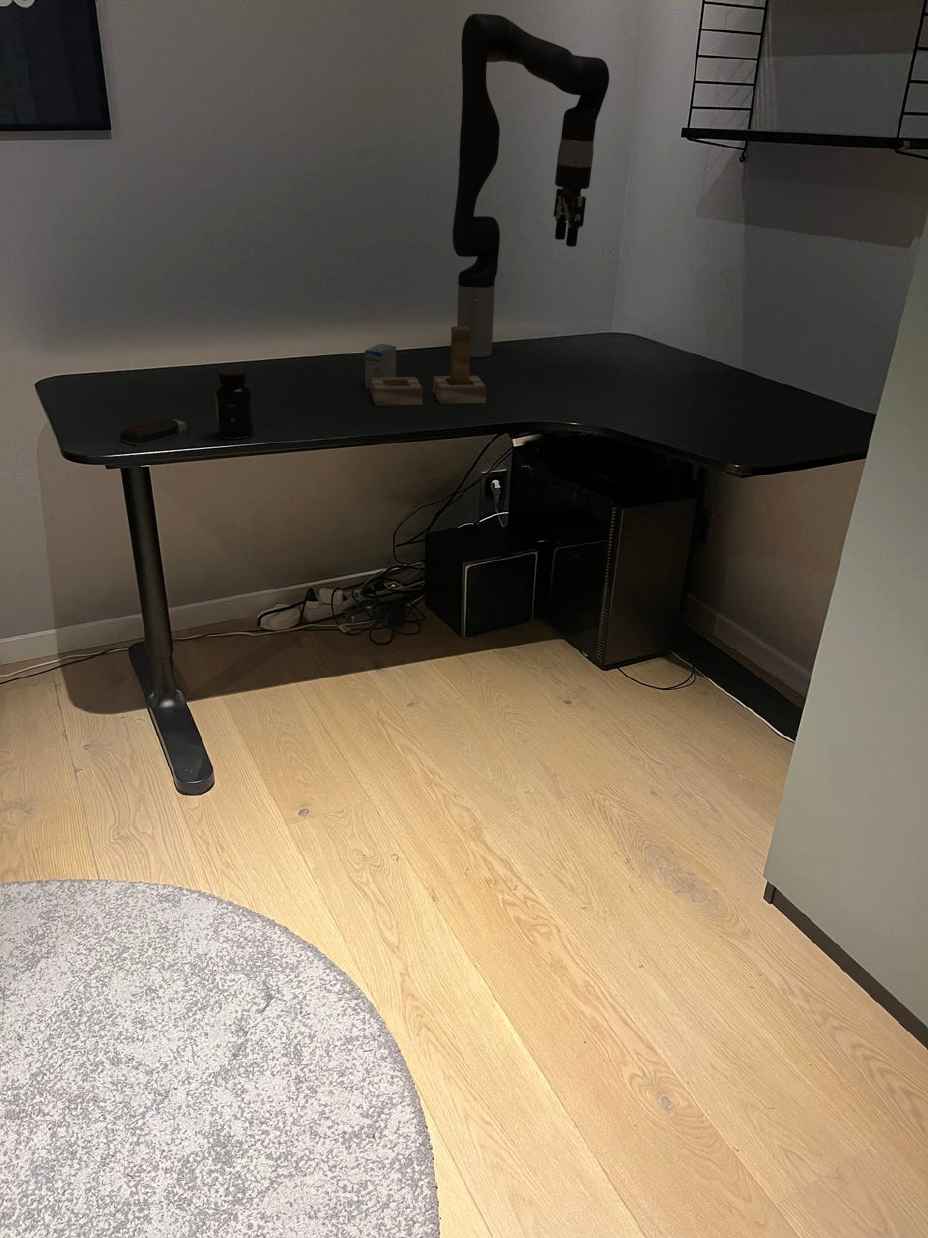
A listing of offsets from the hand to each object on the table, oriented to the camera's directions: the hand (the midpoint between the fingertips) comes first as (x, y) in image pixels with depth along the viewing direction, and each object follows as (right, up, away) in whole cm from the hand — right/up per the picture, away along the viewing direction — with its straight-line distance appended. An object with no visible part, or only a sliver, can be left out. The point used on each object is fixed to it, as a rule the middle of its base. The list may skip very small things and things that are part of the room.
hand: (565, 242), depth 218 cm
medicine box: (-42, -31, +5) cm, 52 cm away
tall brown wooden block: (-24, -34, -3) cm, 42 cm away
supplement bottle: (-66, -49, -30) cm, 88 cm away
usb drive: (-81, -50, -33) cm, 101 cm away
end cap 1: (-37, -36, -5) cm, 52 cm away
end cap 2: (-24, -35, -2) cm, 42 cm away
